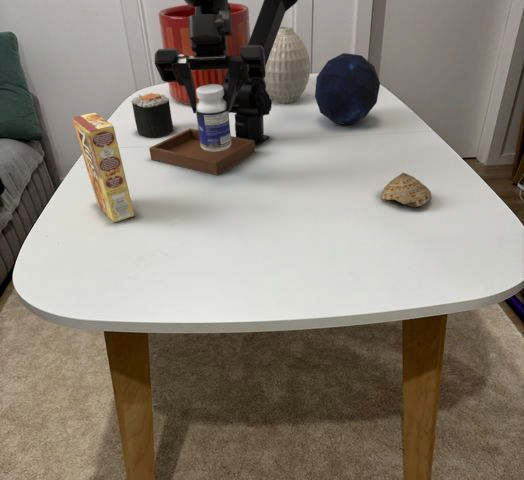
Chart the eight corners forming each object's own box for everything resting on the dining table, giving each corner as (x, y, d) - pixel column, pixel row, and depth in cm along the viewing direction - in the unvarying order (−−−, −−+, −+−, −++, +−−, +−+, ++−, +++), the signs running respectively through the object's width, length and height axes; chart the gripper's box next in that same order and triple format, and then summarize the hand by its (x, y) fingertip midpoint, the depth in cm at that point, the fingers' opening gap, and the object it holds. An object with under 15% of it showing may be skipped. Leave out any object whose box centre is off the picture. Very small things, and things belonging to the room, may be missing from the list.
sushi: (157, 123, 125) (151, 88, 120) (180, 130, 121) (174, 94, 116) (131, 133, 121) (124, 97, 116) (153, 140, 117) (147, 103, 111)
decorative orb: (349, 115, 108) (377, 42, 105) (293, 103, 116) (318, 35, 113) (373, 140, 120) (399, 76, 117) (321, 128, 128) (344, 68, 125)
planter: (243, 108, 132) (237, 16, 118) (159, 107, 135) (144, 18, 122) (259, 84, 149) (256, 1, 135) (184, 84, 152) (174, 3, 139)
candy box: (136, 216, 88) (115, 124, 78) (112, 223, 86) (88, 130, 76) (117, 199, 94) (96, 111, 84) (95, 205, 92) (70, 116, 82)
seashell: (408, 204, 83) (381, 170, 85) (395, 228, 88) (370, 195, 90) (446, 192, 85) (419, 160, 88) (431, 216, 90) (406, 184, 93)
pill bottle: (200, 142, 96) (193, 84, 89) (230, 139, 96) (225, 82, 89) (200, 153, 91) (193, 94, 85) (232, 151, 92) (227, 91, 85)
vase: (310, 106, 131) (312, 31, 120) (261, 108, 131) (258, 33, 120) (308, 92, 141) (309, 21, 130) (261, 94, 141) (259, 23, 130)
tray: (191, 139, 116) (190, 128, 114) (255, 152, 108) (254, 140, 107) (151, 159, 108) (149, 147, 106) (217, 175, 100) (216, 162, 98)
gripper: (145, -8, 81) (144, 87, 81) (261, -14, 80) (261, 83, 79) (163, 38, 92) (162, 121, 92) (265, 33, 91) (265, 118, 91)
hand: (210, 111), depth 88 cm, fingers closed on pill bottle, 6 cm apart
